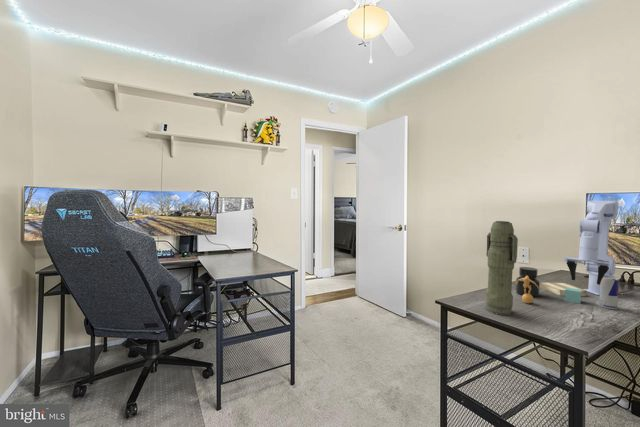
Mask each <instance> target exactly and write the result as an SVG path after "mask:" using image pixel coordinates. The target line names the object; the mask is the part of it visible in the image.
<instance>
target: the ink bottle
mask: <svg viewBox="0 0 640 427" xmlns="http://www.w3.org/2000/svg"><path fill="white" fill-rule="evenodd" d="M518 273H519V276H518V277H516V279H515V293H517V294H519V295H522V296H523V295H524V294H525V292H524V289H525V288H524V286H523V284H525V283H524V281H523V280H519V281H518V284H516V282H517V280H518V279H522V278H525V277H526V276H528V277H529V279H530V280H532V281H533V282H535V283H536V285H537V286H538V287H539V289H538V287H537V286H536V285H535V284H534V283H532V282H529V285H531V291H530V294H531V295H532V296H533V298H534V297H535V298H536V297H539V296H540V288H541V282H540V281H539V280H538V269H537V268H535V267H529V266H528V267H527V266H519V272H518ZM529 290H530V289H529V288H528V287H527V288H526V293H527V294H529V293H528V292H529Z"/></svg>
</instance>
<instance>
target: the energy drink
mask: <svg viewBox="0 0 640 427" xmlns="http://www.w3.org/2000/svg"><path fill="white" fill-rule="evenodd" d="M619 281H620V280H619V279H618V278H617V277H615V278H611V277H603V278H602V280H601V283H600V295H599V296H598V297H599V300H598V305H599V306H600V307H601V308H604V309H607V310H617V309H618V306H619V304H618V303H619V288H620V282H619Z"/></svg>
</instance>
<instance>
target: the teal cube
mask: <svg viewBox="0 0 640 427" xmlns="http://www.w3.org/2000/svg"><path fill="white" fill-rule="evenodd" d="M581 297H582V296H581V290H580V289H574V288H567V287H566V289H565V296H564V302H567V303H568V302H570V303H573V304H575V303H576V304H581Z"/></svg>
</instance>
